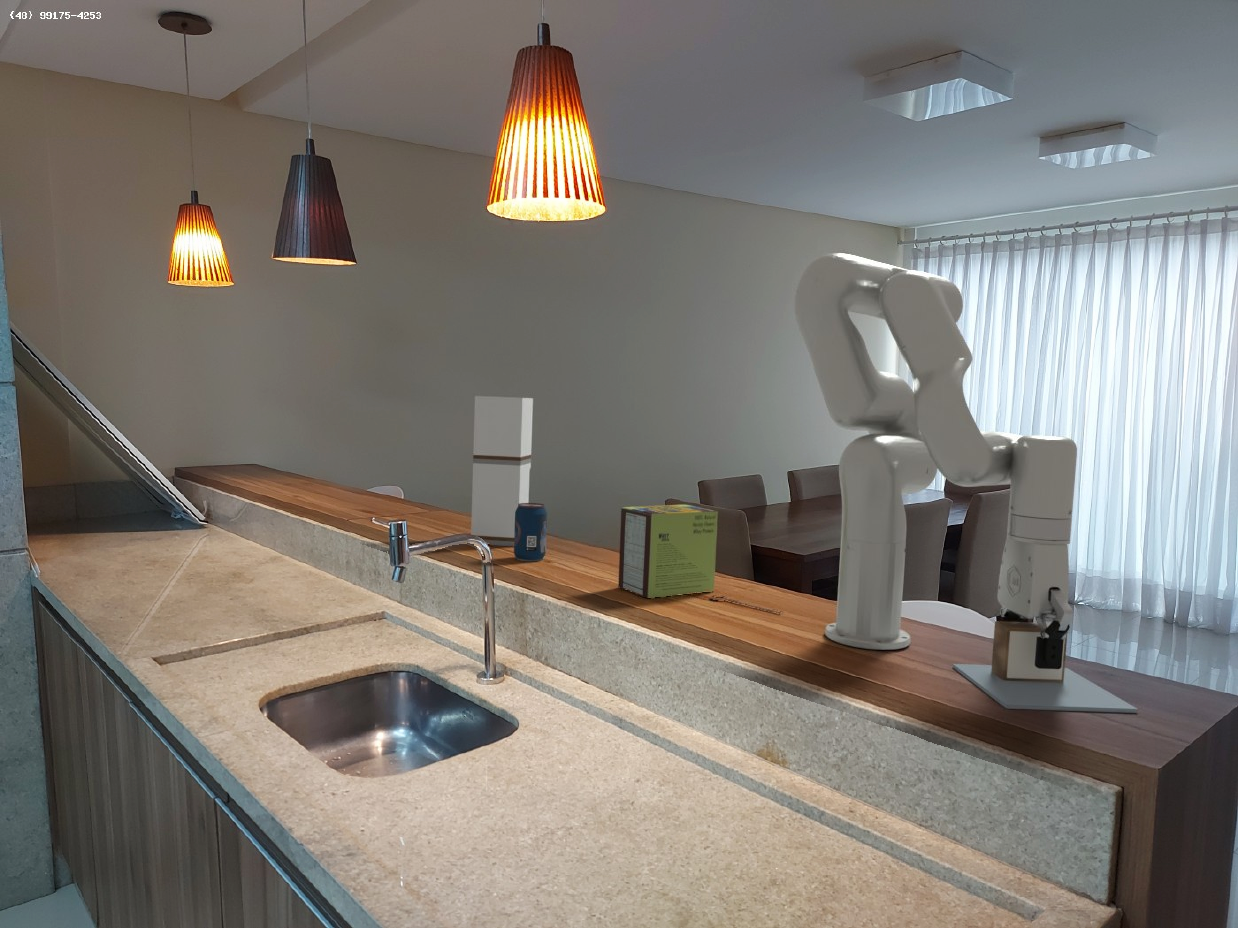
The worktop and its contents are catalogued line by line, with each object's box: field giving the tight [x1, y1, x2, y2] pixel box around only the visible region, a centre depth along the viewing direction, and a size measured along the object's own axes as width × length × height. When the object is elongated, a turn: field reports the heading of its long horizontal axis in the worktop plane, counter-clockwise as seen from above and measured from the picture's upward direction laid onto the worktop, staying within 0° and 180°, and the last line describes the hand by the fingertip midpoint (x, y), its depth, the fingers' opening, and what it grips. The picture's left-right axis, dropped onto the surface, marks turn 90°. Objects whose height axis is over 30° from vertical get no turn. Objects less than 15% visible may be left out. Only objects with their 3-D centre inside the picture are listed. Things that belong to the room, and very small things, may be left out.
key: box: [709, 595, 781, 614], centre depth 152 cm, size 6×1×15 cm
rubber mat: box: [952, 663, 1138, 714], centre depth 111 cm, size 16×16×1 cm
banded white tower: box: [470, 395, 534, 547], centre depth 206 cm, size 11×11×35 cm
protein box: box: [617, 504, 719, 599], centre depth 161 cm, size 10×15×16 cm
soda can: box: [513, 502, 548, 562], centre depth 186 cm, size 7×7×12 cm
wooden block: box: [991, 620, 1069, 682], centre depth 114 cm, size 4×8×7 cm, turn 91°
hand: (1028, 656), depth 114 cm, fingers open, 9 cm apart
